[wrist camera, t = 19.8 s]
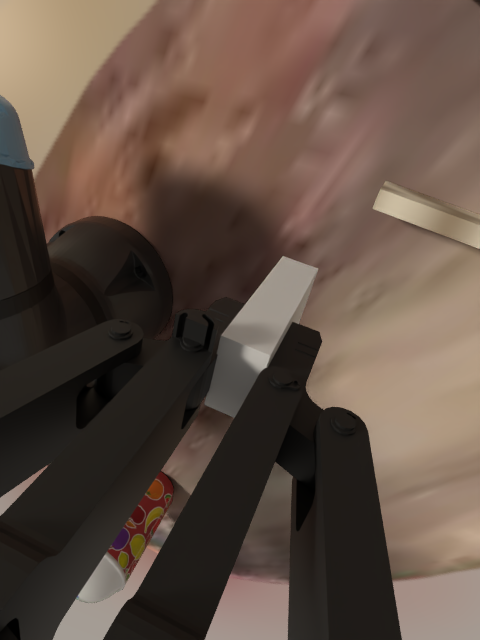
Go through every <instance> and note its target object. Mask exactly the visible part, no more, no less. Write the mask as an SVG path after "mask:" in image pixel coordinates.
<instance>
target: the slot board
mask: <svg viewBox="0 0 480 640" xmlns="http://www.w3.org/2000/svg"><path fill="white" fill-rule="evenodd" d="M372 209H375V210H377V211H380V212H383V213H385V214H388V215H391V216H393V217H396V218H399V219H401V220H404V221H407V222H409V223H412V224H415V225H417V226H420V227H423V228H425V229H428V230H431V231H433V232H436V233H439V234H441V235H444V236H447V237H449V238H452V239H454V240H457V241H460V242H462V243H465V244H468V245H470V246H473V247H476V248H478V249H480V215H479V214H477V213H474V212H471V211H468V210H465V209H463V208H460V207H457V206H454V205H452V204H449V203H446V202H443V201H441V200H438V199H435V198H432V197H430V196H427V195H424V194H421V193H418V192H416V191H413V190H410V189H407V188H405V187H402V186H399V185H396V184H394V183H391V182H388V181H385V183H384V185H383V186H382V188H381V189H380V192H379V194H378V196H377V199H376V201H375V203H374V206H373V208H372Z"/></svg>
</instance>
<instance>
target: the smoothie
mask: <svg viewBox="0 0 480 640" xmlns="http://www.w3.org/2000/svg"><path fill="white" fill-rule="evenodd" d="M173 492H174V491H173V485H172V483H171V481H170V480H169V478H168V477H167V476H166V475H165V474H163V473H162V472H159V474H158V475H157V477H156V478H155V480H154V482H153V483H152V485H151V486H150V488H149V489H148V491H147V492H146V494H145V495H144V497H143V498H142V500H141V501H140V503H139V504H138V506H137V507H136V509H135V510H134V512H133V513H132V515H131V516H130V518H129V519H128V521H127V522H126V524H125V525H124V527H123V528H122V530H121V531H120V533H119V534H118V536H117V537H116V539H115V540H114V542H113V543H112V545H111V546H110V548H109V549H108V551H107V552H106V554H105V555H104V557H103V558H102V560H101V561H100V563H99V564H98V566H97V567H96V569H95V571H94V572H93V574H92V575H91V577H90V578H89V580H88V581H87V583H86V584H85V586H84V587H83V589H82V590H81V592H80V593H79V595H78V596H77V598H76V599H77V600H79V601H82V602H86V603H95V602H99V601H102V600H104V599H106V598H108V597H110V596H112V595H113V594H114V593H116V592H119V591H120V590H123V588H124V586H125V584H126V582H127V580H128V579H129V577H130V575H131V573H132V572H133V570H134V568H135V566H136V565H137V563H138V561H139V559H140V557H141V556H142V554H143V552H144V550H145V549H146V547H147V545H148V543H149V542H150V540H151V538H152V536H153V535H154V533H155V531H156V529H157V527H158V526H159V524H160V522H161V520H162V519H163V517H164V515H165V513H166V512H167V510H168V508H169V506H170V505H171V502H172V500H173V499H172V494H173Z"/></svg>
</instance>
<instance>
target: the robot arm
mask: <svg viewBox="0 0 480 640" xmlns="http://www.w3.org/2000/svg"><path fill="white" fill-rule="evenodd" d="M32 169H34V163H33V161H32V160H31V159H30V158H29V155H28V151H27V147H26V143H25V139H24V136H23V131H22V128H21V124H20V120H19V117H18V114H17V112H16V110H15V109H14V107H13V106H12V105H11V104H10V103H9V101H7V100H6V99H5V98H4V97H2V96H1V95H0V497H1V496H3V495H4V494H6V493H7V492H9V491H10V490H12V489H13V488H15V487H16V486H17V485H19V484H20V483H22V482H23V481H25V480H26V479H28V478H29V477H31V476H32V475H33V474H35V473H36V472H38V471H39V470H41V469H42V468H44V467H45V466H46V465H48V464H49V463H51V462H52V461H53V462H52V463H51V464H50V465H49V466H48V467H47V468H46V469H45V470H44V471H43V472H42V473H41V474H40V475H39V477H38V478H37V479H36V480H35V481H34V482H33V483H32V484H31V485H30V486H29V487H28V488H27V489H26V490H25V491H24V492H23V493H22V494H21V495H20V497H19V498H17V500H16V501H15V502H14V503H13V504H12V505H11V506H10V507H9V508H8V509H7V510H6V511H5V512H4V513H3V514H2V515H1V516H0V640H52V639H53V637H54V635H55V632H56V630H57V628H58V626H59V624H60V622H61V621H62V619H63V617H64V616H65V614H66V613H67V611H68V610H69V608H70V607H71V605H72V604H73V602H74V601H75V599H76V598H77V596H78V595H79V593H80V592H81V590H82V589H83V587H84V586H85V584H86V583H87V581H88V580H89V578H90V577H91V575H92V574H93V572H94V571H95V569H96V567H97V566H98V564H99V563H100V561H101V560H102V558H103V557H104V555H105V554H106V552H107V551H108V549H109V548H110V546H111V545H112V543H113V542H114V540H115V539H116V537H117V536H118V534H119V533H120V531H121V530H122V528H123V527H124V525H125V524H126V522H127V521H128V519H129V518H130V516H131V515H132V513H133V512H134V510H135V509H136V507H137V506H138V504H139V503H140V501H141V500H142V498H143V497H144V495H145V494H146V492H147V491H148V489H149V488H150V486H151V485H152V483H153V482H154V480H155V478H156V477H157V475H158V474H159V472H160V471H161V469H162V468H163V466H164V465H165V463H166V462H167V460H168V459H169V457H170V456H171V454H172V453H173V451H174V450H175V448H176V447H177V445H178V444H179V442H180V441H181V439H182V438H183V436H184V435H185V433H186V432H187V430H188V429H189V427H190V426H191V424H192V423H193V421H194V420H195V418H196V417H197V415H198V412H199V408H200V404H201V402H202V400H203V399H204V397H205V396H206V400H205V404H204V405H206V406H208V407H211V408H213V409H215V410H217V411H220V412H222V413H224V414H227V415H229V416H231V417H233V418H234V420H233V422H232V423H231V425H230V427H229V429H228V431H227V432H226V434H225V436H224V438H223V439H222V441H221V443H220V445H219V447H218V448H217V450H216V452H215V454H214V455H213V457H212V459H211V461H210V463H209V464H208V466H207V468H206V470H205V472H204V473H203V475H202V477H201V479H200V480H199V482H198V484H197V486H196V488H195V489H194V491H193V493H192V495H191V496H190V498H189V500H188V502H187V504H186V505H185V507H184V509H183V511H182V512H181V514H180V516H179V518H178V520H177V521H176V523H175V525H174V527H173V528H172V530H171V532H170V534H169V536H168V537H167V539H166V541H165V543H164V545H163V546H162V548H161V550H160V552H159V553H158V555H157V557H156V559H155V561H154V562H153V564H152V566H151V568H150V570H149V571H148V573H147V575H146V577H145V578H144V580H143V582H142V584H141V586H140V587H139V589H138V591H137V592H136V594H135V595H134V596H133V598H131V599H129V600H128V601H127V602H126V603H125V604H124V606H123V607H122V608H121V610H120V612H119V613H118V615H117V616H116V618H115V620H114V622H113V623H112V625H111V627H110V628H109V630H108V632H107V634H106V635H105V637H104V639H103V640H204V639H205V637H206V634H207V631H208V629H209V627H210V624H211V621H212V619H213V617H214V614H215V611H216V609H217V606H218V604H219V601H220V599H221V596H222V594H223V591H224V589H225V586H226V584H227V581H228V579H229V576H230V574H231V571H232V569H233V566H234V564H235V561H236V559H237V556H238V554H239V551H240V549H241V546H242V544H243V541H244V538H245V536H246V533H247V531H248V528H249V526H250V523H251V521H252V518H253V516H254V513H255V511H256V508H257V506H258V503H259V501H260V498H261V496H262V493H263V491H264V488H265V485H266V483H267V480H268V478H269V475H270V473H271V470H272V468H273V465H274V463H275V462H276V463H278V464H279V465H280V466H281V467H283V468H284V469H285V470H286V471H287V472H289V473H290V474H291V475H292V476H293V479H292V500H291V539H290V577H289V617H288V640H402V638H401V632H400V626H399V620H398V613H397V607H396V601H395V595H394V589H393V583H392V576H391V570H390V564H389V558H388V552H387V546H386V539H385V533H384V527H383V521H382V515H381V509H380V503H379V496H378V490H377V484H376V478H375V472H374V466H373V459H372V453H371V447H370V441H369V435H368V430H367V428H366V425H365V423H364V422H363V421H362V420H361V418H360V417H359V416H357V415H356V414H354V413H353V412H351V411H349V410H347V409H344V408H340V407H330V408H326V409H325V410H323V409H321V408H320V407H319V406H317V405H316V404H315V403H314V402H313V401H312V400H311V399H310V398H309V396H308V394H307V392H306V382H307V379H308V377H309V374H310V372H311V369H312V366H313V364H314V361H315V359H316V356H317V354H318V351H319V349H320V346H321V343H322V339H321V336H320V332H318V331H315V330H313V329H310V328H308V327H305V326H303V325H300V324H299V322H300V320H301V317H302V314H303V311H304V308H305V305H306V302H307V300H308V297H309V294H310V291H311V288H312V285H313V283H314V280H315V277H316V274H317V271H318V268H315V267H312V266H309V265H306V264H304V263H301V262H298V261H295V260H293V259H290V258H287V257H284V256H283V257H282V258H281V259H280V260H279V262H278V263H277V264H276V266H275V267H274V268H273V269H272V271H271V272H270V273H269V275H268V276H267V277H266V278H265V280H264V281H263V282H262V283H261V285H260V286H259V287H258V289H257V290H256V291H255V292H254V294H253V295H252V296H251V298H250V299H249V300H248V301H247V303H246V304H243V303H240V302H238V301H235V300H233V299H230V298H227V297H225V298H222V299H220V300H217V301H215V302H214V303H213V304H212V305H211V306H210V308H209V309H208V310H207V311H206V312H204V311H201V310H197V309H186V310H181V311H180V312H178V313H176V315H175V321H174V327H173V333H172V337H171V338H170V339H169V340H168V341H162V340H154V338H155V337H156V336H157V335H158V334H159V333H160V332H161V331H162V330H163V329H164V328H165V326H166V325H167V323H168V321H169V318H170V315H171V311H172V302H173V300H172V288H171V284H170V280H169V277H168V274H167V271H166V269H165V267H164V265H163V263H162V261H161V259H160V257H159V256H158V254H157V253H156V251H155V250H154V249H153V247H152V246H151V245H150V244H149V243H148V242H147V241H146V240H145V239H144V238H143V237H142V236H141V235H140V234H139V233H138V232H136V231H135V230H134V229H132V228H131V227H129V226H128V225H126V224H124V223H122V222H120V221H117V220H115V219H112V218H108V217H102V216H92V217H87V218H83V219H80V220H78V221H76V222H73V223H71V224H68V225H66V226H65V227H63V228H62V229H60V230H59V231H58V232H57V233H56V234H55V235H54V236H53V237H52V238H51V240H50V241H49V242H48V243H47V244H46V239H45V234H44V229H43V224H42V219H41V214H40V209H39V204H38V199H37V194H36V189H35V183H34V178H33V173H32ZM206 394H207V395H206Z"/></svg>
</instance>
